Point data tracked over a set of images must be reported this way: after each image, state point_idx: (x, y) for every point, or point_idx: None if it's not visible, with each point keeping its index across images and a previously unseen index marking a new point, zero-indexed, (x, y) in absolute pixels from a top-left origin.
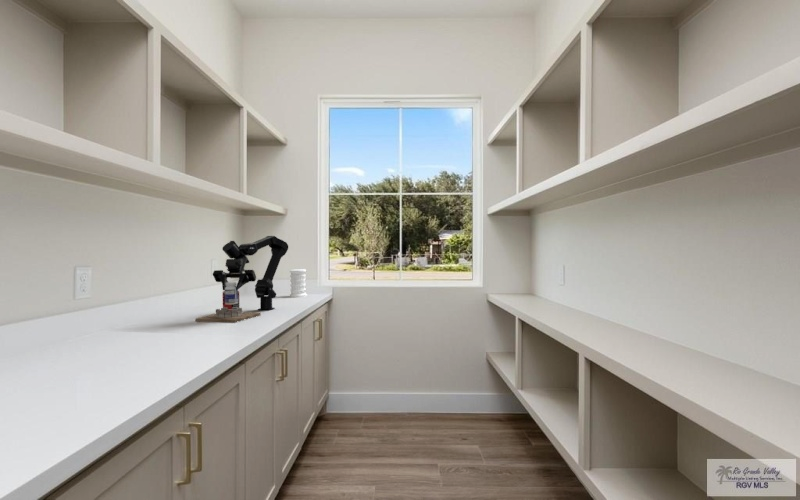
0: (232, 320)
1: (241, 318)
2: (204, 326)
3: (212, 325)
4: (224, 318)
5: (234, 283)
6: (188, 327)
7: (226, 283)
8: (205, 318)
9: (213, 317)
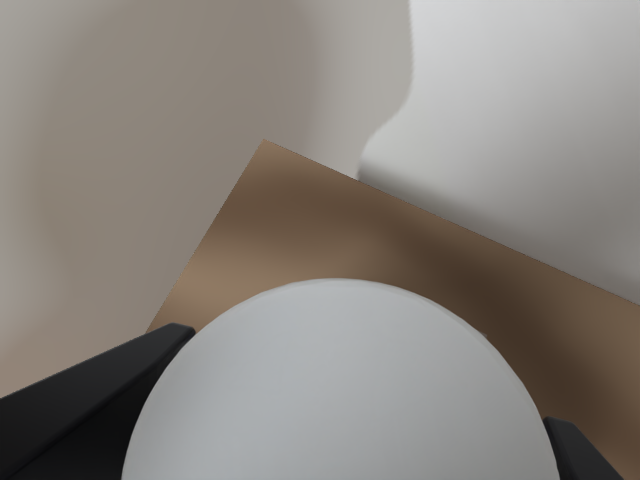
0: (292, 156)
1: (211, 228)
2: (501, 37)
3: (445, 63)
4: (386, 250)
5: (195, 341)
6: (625, 28)
7: (484, 342)
8: (610, 324)
9: (536, 376)
